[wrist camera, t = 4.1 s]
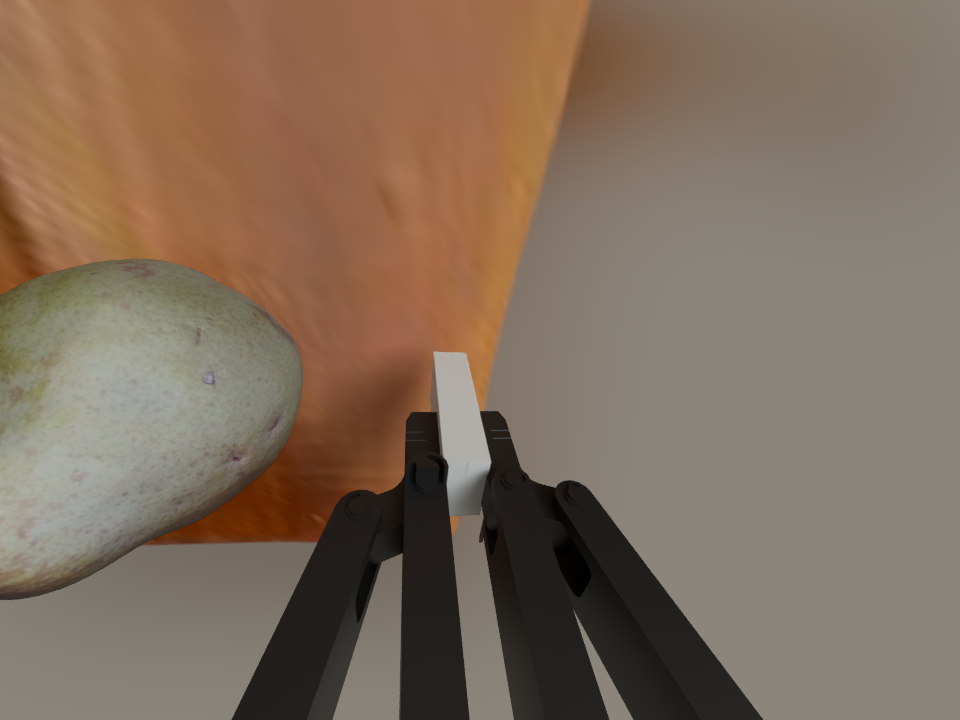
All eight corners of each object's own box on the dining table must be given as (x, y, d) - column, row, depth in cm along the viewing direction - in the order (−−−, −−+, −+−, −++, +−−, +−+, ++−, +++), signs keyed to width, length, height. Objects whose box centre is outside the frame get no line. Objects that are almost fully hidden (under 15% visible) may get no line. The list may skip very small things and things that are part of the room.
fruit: (37, 321, 16) (-542, 635, 6) (154, 171, 14) (-462, 296, 4) (252, 433, 22) (119, 699, 12) (362, 338, 19) (313, 567, 9)
